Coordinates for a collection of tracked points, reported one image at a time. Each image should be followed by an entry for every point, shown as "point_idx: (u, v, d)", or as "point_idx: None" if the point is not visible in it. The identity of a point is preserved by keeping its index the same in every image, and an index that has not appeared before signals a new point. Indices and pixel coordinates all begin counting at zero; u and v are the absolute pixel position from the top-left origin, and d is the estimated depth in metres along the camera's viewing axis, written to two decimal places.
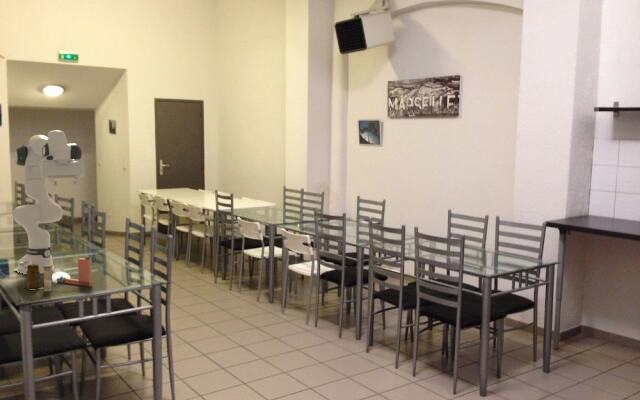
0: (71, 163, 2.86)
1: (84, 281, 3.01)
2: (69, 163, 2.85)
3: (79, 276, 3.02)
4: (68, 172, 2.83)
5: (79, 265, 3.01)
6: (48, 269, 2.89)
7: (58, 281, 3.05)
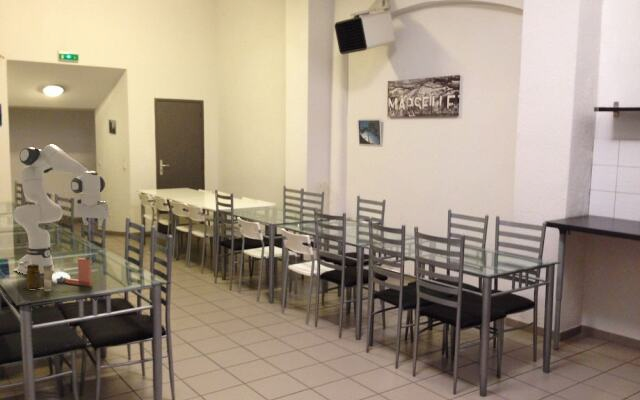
0: (96, 206, 3.10)
1: (84, 281, 3.01)
2: (94, 206, 3.10)
3: (79, 276, 3.02)
4: (92, 215, 3.11)
5: (79, 265, 3.01)
6: (48, 269, 2.89)
7: (58, 281, 3.05)
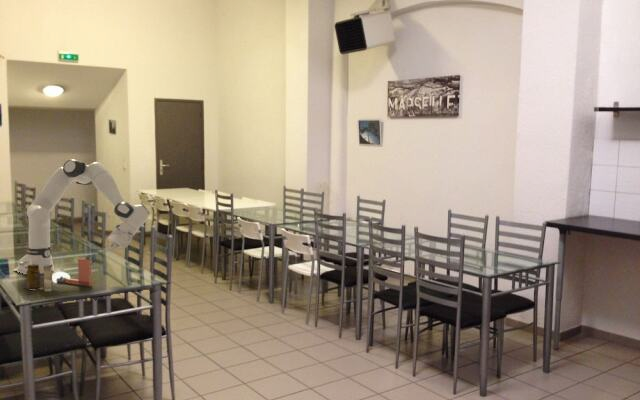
0: (124, 234, 3.08)
1: (84, 281, 3.01)
2: (123, 234, 3.09)
3: (79, 276, 3.02)
4: (115, 240, 3.08)
5: (79, 265, 3.01)
6: (48, 269, 2.89)
7: (58, 281, 3.05)
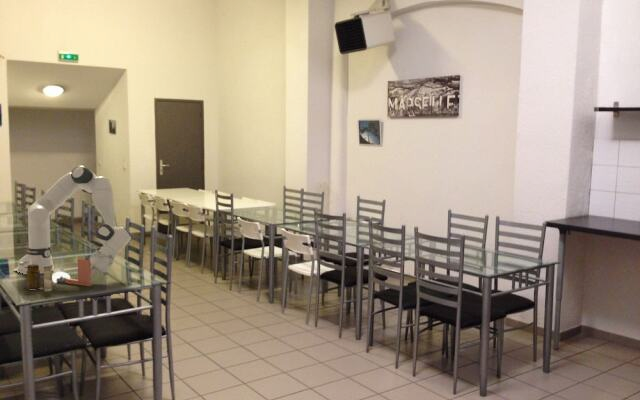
0: (104, 257, 3.02)
1: (84, 281, 3.01)
2: (103, 257, 3.03)
3: (79, 276, 3.02)
4: (96, 264, 3.02)
5: (79, 265, 3.01)
6: (48, 269, 2.89)
7: (58, 281, 3.05)
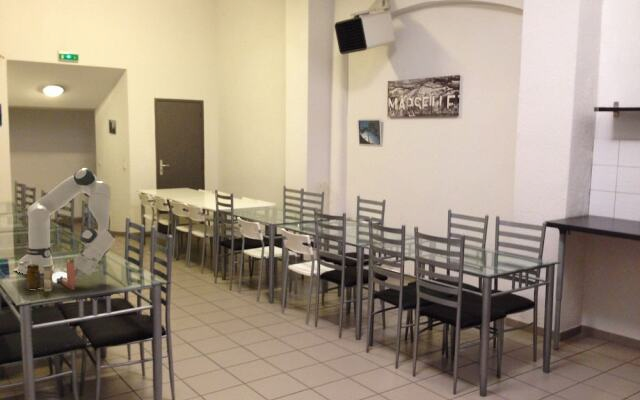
0: (88, 260, 2.96)
1: (69, 284, 2.94)
2: (87, 260, 2.97)
3: (67, 278, 2.97)
4: (79, 267, 2.96)
5: (67, 267, 2.96)
6: (48, 269, 2.89)
7: (58, 281, 3.05)
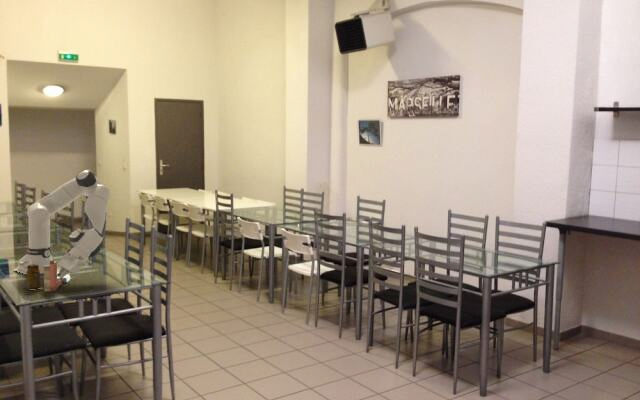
0: (74, 259, 2.93)
1: None
2: (73, 259, 2.93)
3: None
4: (65, 266, 2.92)
5: None
6: (48, 269, 2.89)
7: None
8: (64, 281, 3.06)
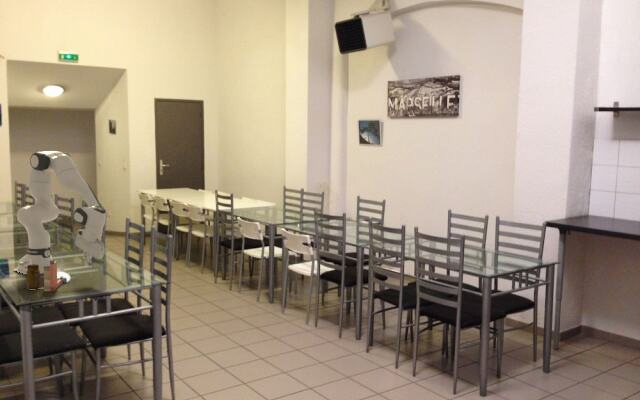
0: (93, 243, 3.03)
1: None
2: (92, 243, 3.03)
3: None
4: (88, 251, 3.05)
5: None
6: (48, 269, 2.89)
7: None
8: (64, 281, 3.06)
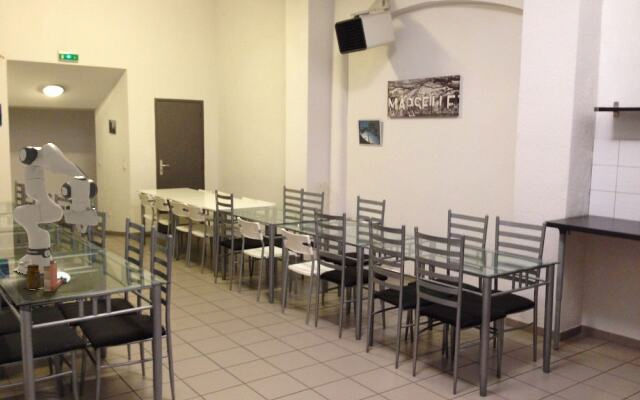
0: (84, 213, 3.01)
1: None
2: (83, 213, 3.01)
3: None
4: (81, 222, 3.02)
5: None
6: (48, 269, 2.89)
7: None
8: (64, 281, 3.06)
